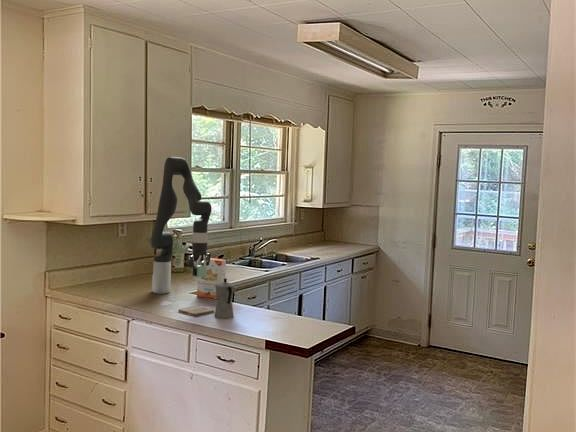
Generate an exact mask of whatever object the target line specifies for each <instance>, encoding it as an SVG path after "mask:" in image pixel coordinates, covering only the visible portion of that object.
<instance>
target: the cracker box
mask: <svg viewBox="0 0 576 432" xmlns="http://www.w3.org/2000/svg"><path fill="white" fill-rule="evenodd" d="M198 265H201V263H200V262H199V264H198ZM226 266H227V259H224V258H214V257H213V258H212V257H211V258H210V263H209V266H206V276H204V277H197V279H196V280H197V282H196V283H197V284H196V285H197V287H196V297H199V298H205V299H206V298H207V299H213V300H218V299H217V295H216V286H215V285H216V284H217V283H222V282H224V279H225V278H226V274H227V272H226V271H227V267H226Z"/></svg>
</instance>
